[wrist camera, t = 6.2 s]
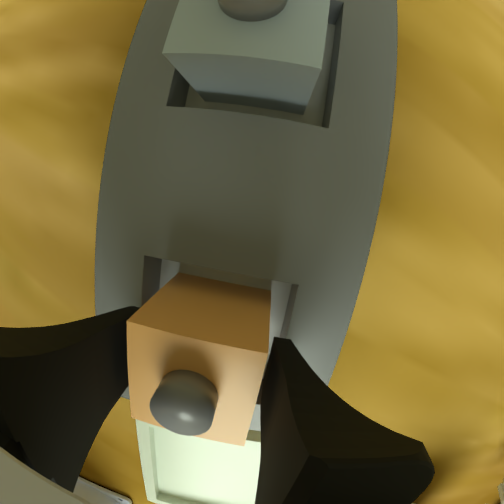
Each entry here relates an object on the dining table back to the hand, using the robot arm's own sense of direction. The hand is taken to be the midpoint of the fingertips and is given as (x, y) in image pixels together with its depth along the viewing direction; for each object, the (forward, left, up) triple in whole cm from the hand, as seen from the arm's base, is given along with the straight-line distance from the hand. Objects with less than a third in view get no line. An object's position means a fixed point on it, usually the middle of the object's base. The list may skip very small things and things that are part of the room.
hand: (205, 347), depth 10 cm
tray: (+2, -12, -3) cm, 13 cm away
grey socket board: (0, +6, -3) cm, 6 cm away
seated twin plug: (0, +11, -3) cm, 11 cm away
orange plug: (0, 0, -3) cm, 3 cm away
